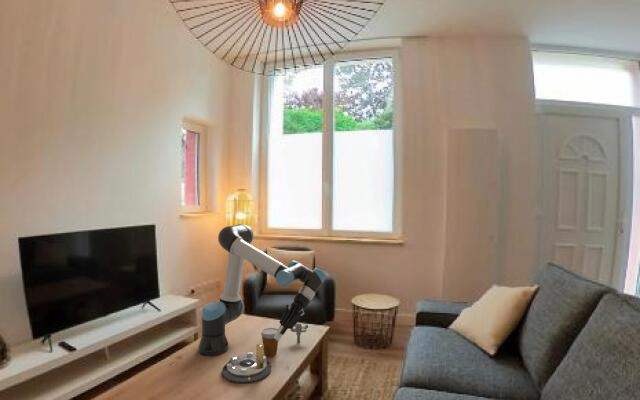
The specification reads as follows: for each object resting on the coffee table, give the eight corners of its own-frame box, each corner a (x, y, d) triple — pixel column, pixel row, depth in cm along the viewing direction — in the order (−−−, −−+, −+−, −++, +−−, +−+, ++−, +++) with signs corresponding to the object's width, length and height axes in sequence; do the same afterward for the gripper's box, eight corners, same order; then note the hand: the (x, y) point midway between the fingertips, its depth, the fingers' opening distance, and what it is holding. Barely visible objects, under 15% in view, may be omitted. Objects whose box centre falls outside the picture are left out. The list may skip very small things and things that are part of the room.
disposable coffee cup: (283, 354, 192) (283, 331, 191) (268, 360, 185) (269, 336, 184) (271, 348, 198) (271, 326, 198) (257, 354, 191) (257, 331, 191)
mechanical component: (307, 343, 205) (307, 325, 205) (288, 343, 205) (289, 325, 205) (307, 341, 208) (308, 323, 207) (289, 341, 208) (289, 323, 208)
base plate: (214, 369, 175) (214, 365, 175) (255, 356, 189) (255, 352, 189) (236, 389, 158) (236, 384, 158) (280, 372, 172) (280, 368, 172)
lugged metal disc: (218, 370, 170) (218, 344, 170) (244, 355, 186) (244, 331, 185) (249, 381, 161) (249, 353, 161) (274, 364, 177) (274, 339, 176)
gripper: (316, 304, 182) (288, 348, 171) (300, 298, 191) (272, 339, 181) (308, 295, 178) (279, 339, 168) (291, 289, 188) (263, 331, 177)
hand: (275, 339), depth 174 cm, fingers closed
